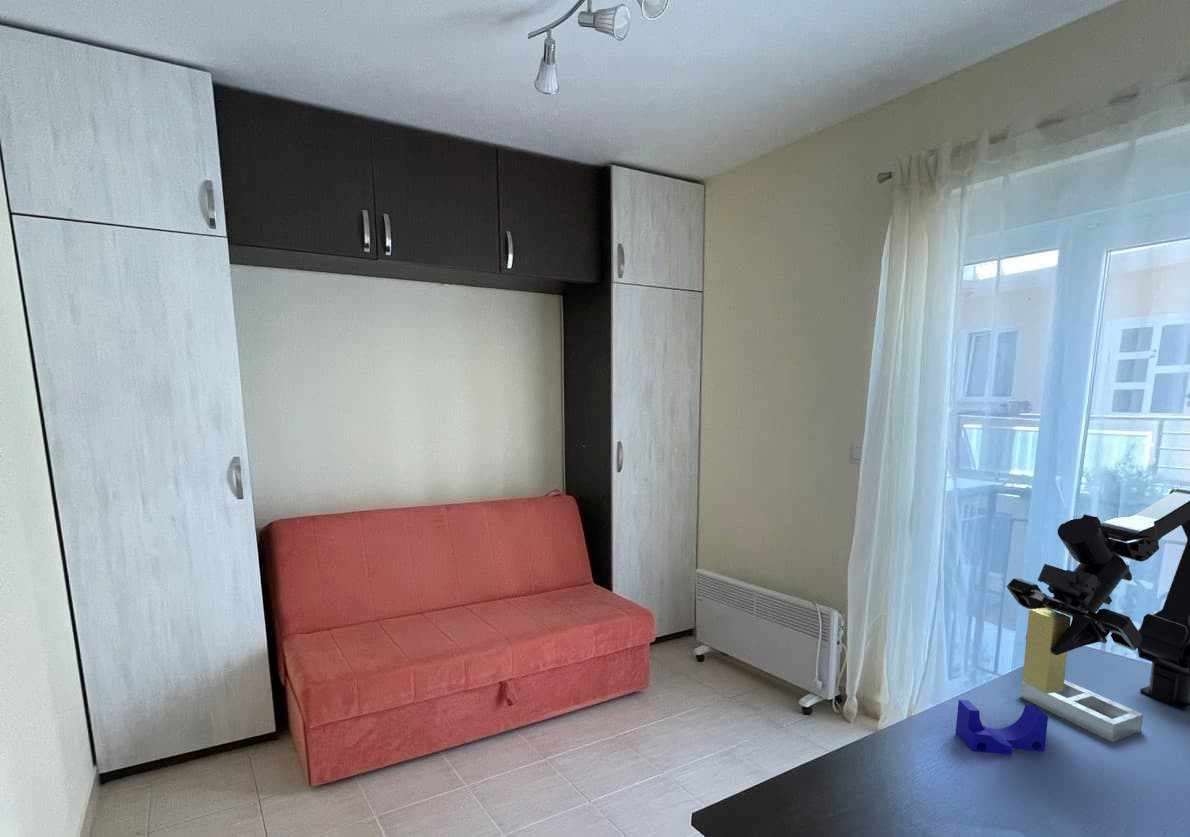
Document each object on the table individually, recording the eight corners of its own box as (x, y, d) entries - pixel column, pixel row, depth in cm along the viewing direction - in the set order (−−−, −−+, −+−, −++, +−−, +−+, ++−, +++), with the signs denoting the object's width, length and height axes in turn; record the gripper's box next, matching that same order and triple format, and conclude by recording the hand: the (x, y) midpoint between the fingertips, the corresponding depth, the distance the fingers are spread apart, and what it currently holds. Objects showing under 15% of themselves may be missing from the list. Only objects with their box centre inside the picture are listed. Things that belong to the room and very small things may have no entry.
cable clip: (971, 752, 89) (975, 715, 88) (955, 734, 93) (958, 699, 93) (1051, 758, 88) (1055, 721, 88) (1030, 740, 92) (1034, 705, 92)
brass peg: (1039, 678, 100) (1046, 607, 99) (1063, 691, 96) (1070, 617, 95) (1022, 681, 99) (1029, 609, 98) (1045, 693, 95) (1053, 619, 94)
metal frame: (1048, 688, 109) (1050, 673, 109) (1141, 731, 96) (1143, 714, 96) (1019, 696, 106) (1021, 681, 105) (1111, 742, 93) (1113, 724, 93)
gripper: (1018, 535, 106) (968, 596, 104) (1137, 568, 88) (1079, 643, 86) (1045, 573, 109) (996, 634, 106) (1166, 613, 91) (1110, 687, 89)
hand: (1040, 647), depth 97 cm, fingers closed on brass peg, 4 cm apart
